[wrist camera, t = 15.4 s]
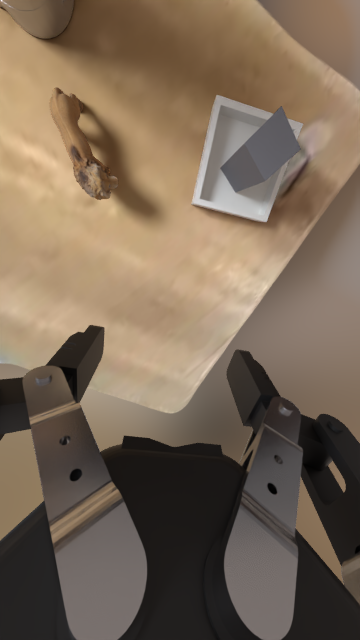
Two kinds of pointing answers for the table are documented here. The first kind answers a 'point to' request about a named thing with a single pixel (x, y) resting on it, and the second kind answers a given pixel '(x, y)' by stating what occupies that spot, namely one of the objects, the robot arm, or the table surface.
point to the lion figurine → (80, 147)
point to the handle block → (262, 153)
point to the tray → (220, 144)
